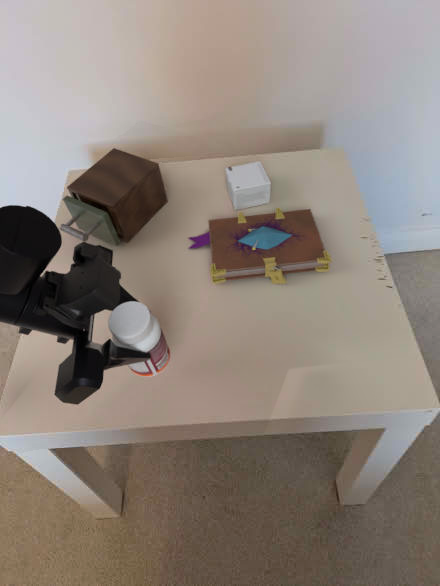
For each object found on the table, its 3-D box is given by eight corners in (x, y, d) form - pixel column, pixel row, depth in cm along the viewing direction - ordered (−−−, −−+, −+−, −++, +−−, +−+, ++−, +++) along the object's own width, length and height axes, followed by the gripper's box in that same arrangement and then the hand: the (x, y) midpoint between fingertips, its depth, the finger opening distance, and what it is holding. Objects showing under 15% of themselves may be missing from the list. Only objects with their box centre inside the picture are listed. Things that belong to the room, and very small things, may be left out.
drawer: (101, 262, 70) (85, 233, 63) (62, 243, 74) (44, 213, 67) (155, 206, 78) (146, 176, 71) (118, 192, 81) (106, 161, 75)
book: (187, 233, 75) (183, 214, 71) (309, 219, 74) (312, 199, 71) (189, 297, 65) (185, 278, 61) (331, 281, 64) (335, 262, 60)
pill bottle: (164, 334, 56) (147, 290, 46) (176, 369, 52) (160, 330, 43) (124, 348, 55) (99, 306, 46) (134, 385, 51) (108, 348, 42)
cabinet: (127, 243, 73) (112, 206, 66) (85, 224, 78) (66, 187, 70) (168, 201, 80) (158, 163, 72) (126, 185, 84) (113, 147, 76)
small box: (270, 203, 77) (271, 183, 73) (234, 211, 76) (232, 191, 72) (260, 180, 81) (260, 160, 77) (225, 187, 81) (224, 167, 77)
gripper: (34, 346, 29) (192, 381, 38) (66, 191, 40) (183, 247, 49) (-9, 394, 35) (135, 414, 45) (28, 249, 46) (138, 289, 55)
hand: (149, 335), depth 48 cm, fingers closed on pill bottle, 6 cm apart
